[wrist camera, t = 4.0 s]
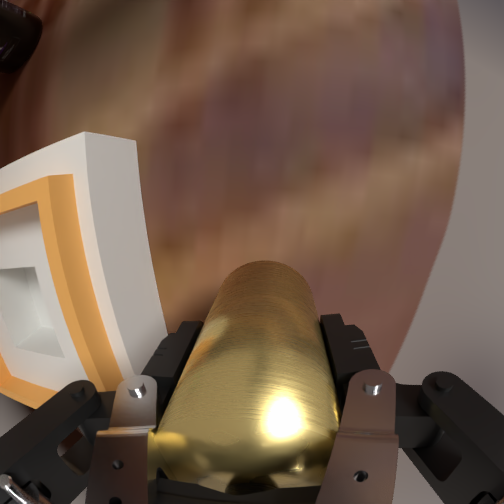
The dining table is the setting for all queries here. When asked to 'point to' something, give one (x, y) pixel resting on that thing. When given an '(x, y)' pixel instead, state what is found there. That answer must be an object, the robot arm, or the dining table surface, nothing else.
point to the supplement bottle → (17, 35)
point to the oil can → (254, 390)
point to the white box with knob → (75, 269)
